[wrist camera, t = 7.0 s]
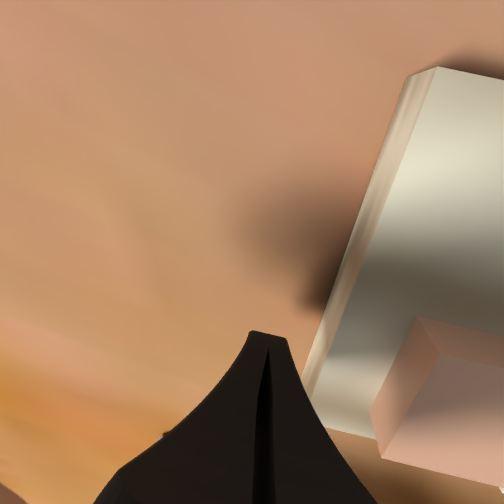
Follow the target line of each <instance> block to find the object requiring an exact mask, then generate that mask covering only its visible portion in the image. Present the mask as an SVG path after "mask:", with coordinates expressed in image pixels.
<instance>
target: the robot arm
mask: <svg viewBox="0 0 504 504" xmlns="http://www.w3.org/2000/svg"><path fill="white" fill-rule="evenodd" d="M93 504H378V503H377V502H376V501H375V500H374V498H373V497H372V496H371V495H370V493H369V492H368V491H367V489H366V488H365V487H364V486H363V484H362V483H361V482H360V481H359V479H358V478H357V476H356V475H355V474H354V472H353V471H352V469H351V468H350V467H349V465H348V464H347V462H346V461H345V459H344V458H343V457H342V455H341V454H340V452H339V451H338V449H337V448H336V446H335V444H334V443H333V441H332V440H331V438H330V437H329V435H328V433H327V431H326V430H325V428H324V426H323V425H322V423H321V421H320V419H319V417H318V416H317V414H316V412H315V410H314V408H313V406H312V404H311V402H310V400H309V398H308V396H307V393H306V391H305V389H304V387H303V384H302V382H301V379H300V377H299V375H298V372H297V370H296V367H295V364H294V361H293V359H292V356H291V352H290V349H289V346H288V342H287V340H286V338H283V337H279V336H275V335H271V334H266V333H262V332H258V331H254V330H252V331H250V332H249V334H248V337H247V340H246V342H245V344H244V346H243V348H242V350H241V351H240V353H239V355H238V356H237V358H236V359H235V361H234V362H233V364H232V365H231V367H230V368H229V370H228V371H227V372H226V374H225V375H224V376H223V377H222V379H221V380H220V381H219V383H218V384H217V385H216V386H215V387H214V389H213V390H212V391H211V392H210V393H209V394H208V395H207V396H206V398H205V399H204V400H203V401H202V402H201V403H200V404H199V405H198V406H197V407H196V408H195V409H194V410H193V411H192V412H191V413H190V414H189V415H188V416H187V417H186V418H184V419H183V420H182V421H181V422H180V423H179V424H178V425H177V426H175V427H174V428H173V429H172V430H171V431H169V432H168V433H167V434H166V435H165V436H161V437H159V438H158V441H157V442H156V443H155V444H153V445H152V446H151V447H150V448H148V449H147V450H145V451H144V452H143V453H141V454H140V455H138V456H137V457H135V458H134V459H133V460H131V461H130V462H128V463H127V464H126V465H124V466H123V467H121V468H120V469H119V470H118V471H117V472H116V473H115V475H114V476H113V477H112V478H111V480H110V481H109V482H108V483H107V485H106V486H105V487H104V489H103V490H102V492H101V493H100V494H99V496H98V497H97V498H96V500H95V502H94V503H93Z"/></svg>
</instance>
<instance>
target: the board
mask: <svg viewBox="0 0 504 504" xmlns="http://www.w3.org/2000/svg"><path fill="white" fill-rule="evenodd" d="M416 316H419V317H423V318H427V319H432V320H436V321H440V322H445V323H449V324H453V325H458V326H462V327H466V328H471V329H475V330H479V331H483V332H488V333H492V334H496V335H501V336H504V80H500V79H495V78H491V77H486V76H481V75H476V74H472V73H467V72H462V71H457V70H453V69H448V68H443V67H439V66H437V67H434V68H431V69H429V70H426V71H423V72H420V73H417V74H415V75H412V76H409V77H406V80H405V83H404V86H403V89H402V91H401V94H400V97H399V100H398V103H397V106H396V109H395V111H394V114H393V117H392V120H391V123H390V126H389V129H388V131H387V134H386V137H385V140H384V143H383V146H382V148H381V151H380V154H379V157H378V160H377V163H376V166H375V168H374V171H373V174H372V177H371V180H370V183H369V186H368V188H367V191H366V194H365V197H364V200H363V203H362V205H361V208H360V211H359V214H358V217H357V220H356V223H355V225H354V228H353V231H352V234H351V237H350V240H349V243H348V245H347V248H346V251H345V254H344V257H343V260H342V262H341V265H340V268H339V271H338V274H337V277H336V280H335V282H334V285H333V288H332V291H331V294H330V297H329V300H328V302H327V305H326V308H325V311H324V314H323V317H322V319H321V322H320V325H319V328H318V331H317V334H316V337H315V339H314V342H313V345H312V348H311V351H310V354H309V357H308V359H307V362H306V365H305V368H304V371H303V374H302V376H301V382H302V384H303V387H304V389H305V391H306V393H307V396H308V398H309V400H310V402H311V404H312V406H313V408H314V410H315V412H316V414H317V416H318V417H319V419H320V421H321V423H322V425H323V426H324V427H326V428H330V429H334V430H338V431H343V432H347V433H351V434H355V435H359V436H363V437H367V438H371V439H375V440H376V437H375V433H374V429H373V426H372V422H371V418H370V414H369V410H370V408H371V406H372V404H373V402H374V400H375V398H376V396H377V394H378V392H379V390H380V388H381V386H382V384H383V382H384V380H385V378H386V376H387V374H388V372H389V370H390V368H391V366H392V364H393V362H394V360H395V358H396V356H397V354H398V352H399V350H400V348H401V346H402V344H403V342H404V340H405V338H406V336H407V334H408V332H409V330H410V328H411V326H412V324H413V322H414V320H415V318H416Z"/></svg>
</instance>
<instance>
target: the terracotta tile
mask: <svg viewBox="0 0 504 504" xmlns="http://www.w3.org/2000/svg"><path fill="white" fill-rule="evenodd" d="M369 414H370V418H371V422H372V426H373V429H374V433H375V437H376V441H377V445H378V448H379V452H380V456H381V458H383V459H387V460H391V461H395V462H399V463H403V464H407V465H411V466H416V467H420V468H424V469H428V470H432V471H436V472H440V473H444V474H448V475H452V476H456V477H461V478H465V479H469V480H473V481H477V482H481V483H485V484H489V485H493V486H497V487H501V488H504V336H501V335H496V334H492V333H488V332H483V331H479V330H475V329H471V328H466V327H462V326H458V325H453V324H449V323H445V322H440V321H436V320H432V319H427V318H423V317H419V316H416V318H415V320H414V322H413V324H412V326H411V328H410V330H409V332H408V334H407V336H406V338H405V340H404V342H403V344H402V346H401V348H400V350H399V352H398V354H397V356H396V358H395V360H394V362H393V364H392V366H391V368H390V370H389V372H388V374H387V376H386V378H385V380H384V382H383V384H382V386H381V388H380V390H379V392H378V394H377V396H376V398H375V400H374V402H373V404H372V406H371V408H370V410H369Z"/></svg>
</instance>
